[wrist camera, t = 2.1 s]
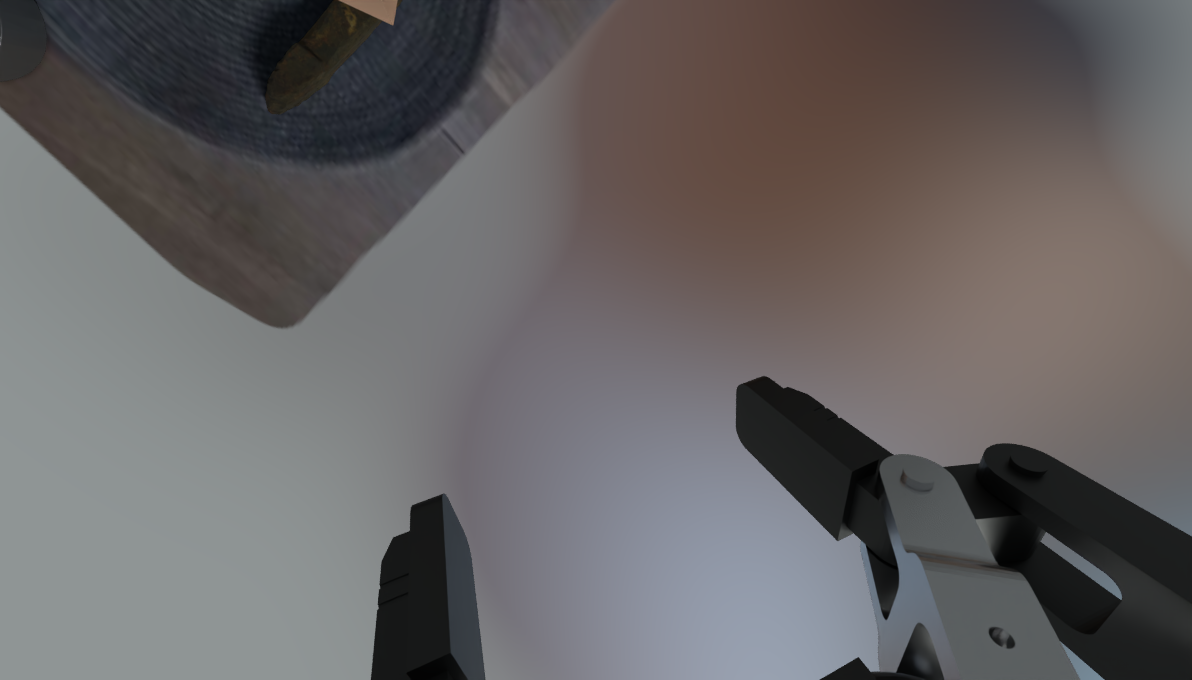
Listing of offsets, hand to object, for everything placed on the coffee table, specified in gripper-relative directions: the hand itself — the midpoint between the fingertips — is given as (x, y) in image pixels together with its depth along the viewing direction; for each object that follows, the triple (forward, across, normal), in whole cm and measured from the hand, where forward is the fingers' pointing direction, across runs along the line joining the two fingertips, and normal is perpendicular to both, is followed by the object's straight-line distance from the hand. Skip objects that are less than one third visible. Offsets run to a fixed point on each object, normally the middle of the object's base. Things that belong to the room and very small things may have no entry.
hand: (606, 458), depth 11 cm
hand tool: (+42, +5, -15) cm, 45 cm away
